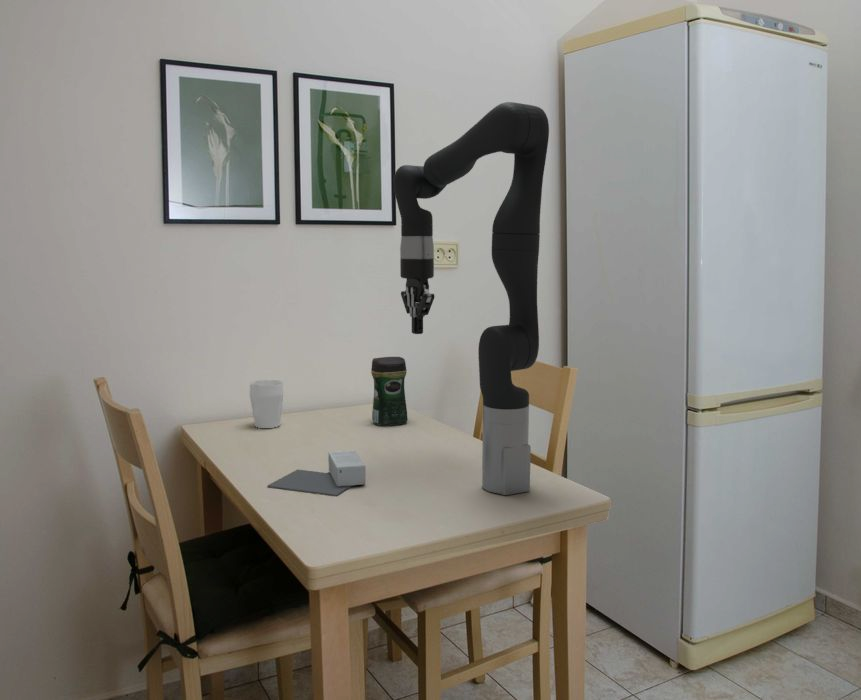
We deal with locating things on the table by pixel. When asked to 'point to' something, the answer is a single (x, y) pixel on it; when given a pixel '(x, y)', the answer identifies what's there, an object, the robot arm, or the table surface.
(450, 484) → the table surface
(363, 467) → the skincare box
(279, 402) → the cup
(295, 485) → the mat
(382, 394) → the coffee jar
